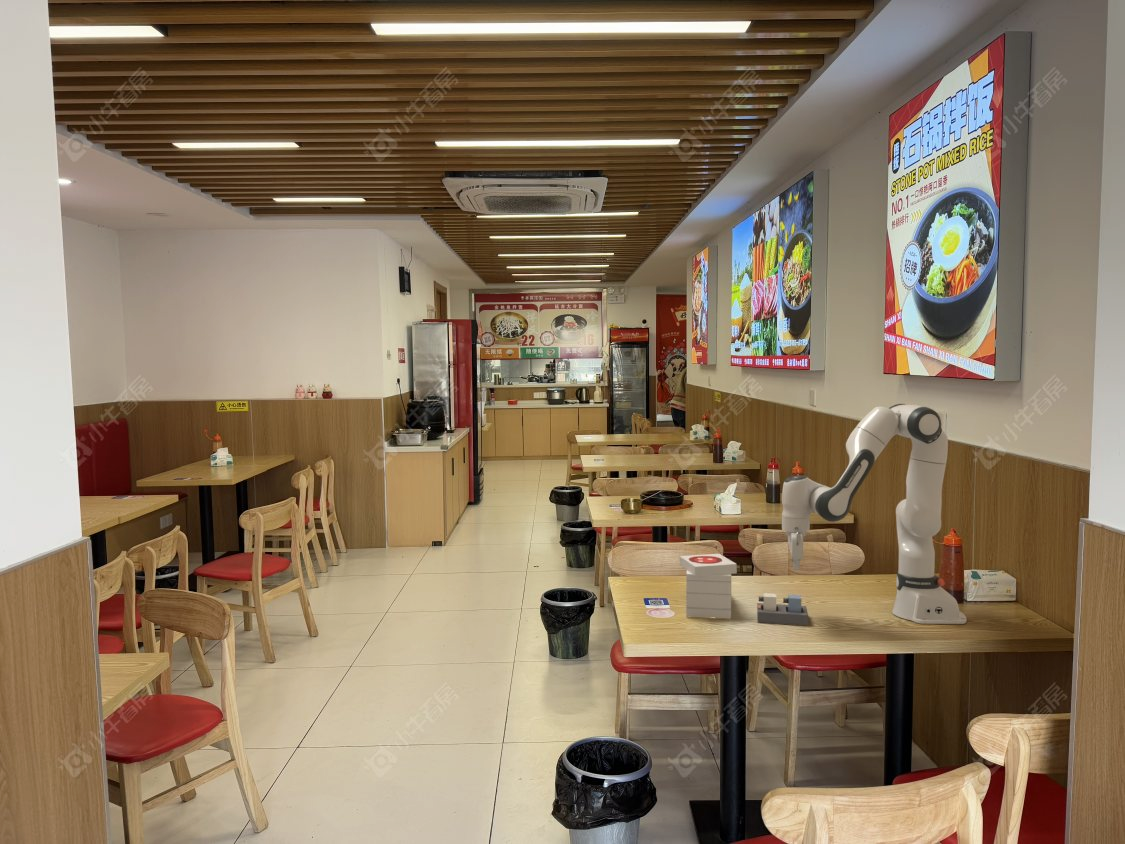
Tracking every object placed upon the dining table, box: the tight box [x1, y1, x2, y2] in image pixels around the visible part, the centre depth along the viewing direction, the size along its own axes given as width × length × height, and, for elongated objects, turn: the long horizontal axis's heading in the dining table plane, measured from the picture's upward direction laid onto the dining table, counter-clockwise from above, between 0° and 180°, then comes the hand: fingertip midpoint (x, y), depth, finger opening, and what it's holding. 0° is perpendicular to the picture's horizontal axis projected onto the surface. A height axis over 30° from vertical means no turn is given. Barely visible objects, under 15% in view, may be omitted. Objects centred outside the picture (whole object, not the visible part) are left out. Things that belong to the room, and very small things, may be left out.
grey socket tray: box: [756, 602, 809, 626], centre depth 257 cm, size 16×10×4 cm, turn 76°
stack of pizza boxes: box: [679, 553, 738, 619], centre depth 271 cm, size 19×30×18 cm, turn 171°
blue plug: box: [782, 594, 802, 613], centre depth 256 cm, size 6×4×8 cm
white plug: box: [758, 592, 777, 611], centre depth 258 cm, size 6×4×8 cm
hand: (795, 566), depth 255 cm, fingers open, 8 cm apart
